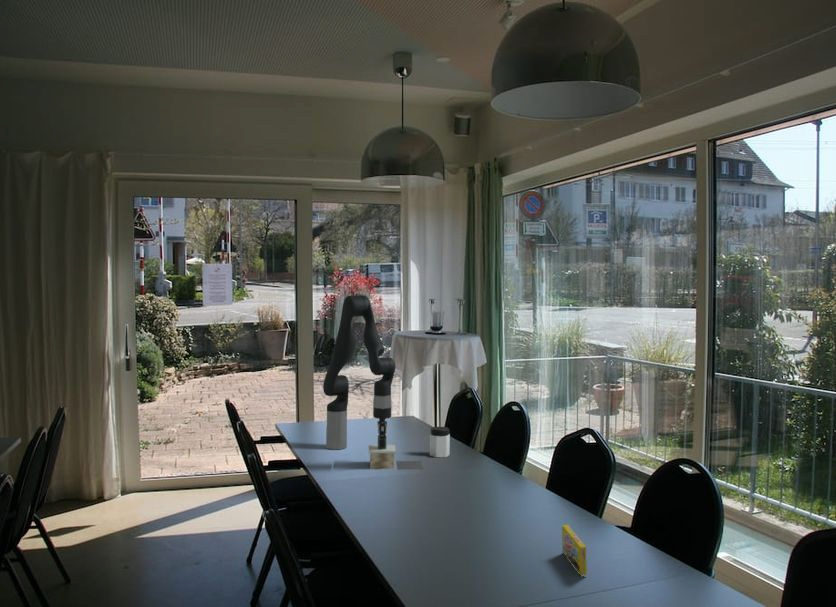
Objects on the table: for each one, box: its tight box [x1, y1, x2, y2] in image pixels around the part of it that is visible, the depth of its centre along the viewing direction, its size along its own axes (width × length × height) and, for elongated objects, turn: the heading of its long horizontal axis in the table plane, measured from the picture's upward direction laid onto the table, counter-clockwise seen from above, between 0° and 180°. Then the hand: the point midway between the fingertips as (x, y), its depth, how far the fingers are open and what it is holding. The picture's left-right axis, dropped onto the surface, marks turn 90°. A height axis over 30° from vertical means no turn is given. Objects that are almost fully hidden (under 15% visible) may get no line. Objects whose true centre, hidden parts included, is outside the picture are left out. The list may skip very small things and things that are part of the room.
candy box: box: [561, 524, 587, 575], centre depth 190 cm, size 16×2×8 cm, turn 5°
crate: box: [369, 453, 395, 470], centre depth 288 cm, size 10×10×7 cm
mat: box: [396, 460, 424, 470], centre depth 289 cm, size 10×13×1 cm
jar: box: [429, 426, 451, 458], centre depth 307 cm, size 9×8×12 cm
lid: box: [368, 434, 397, 454], centre depth 287 cm, size 11×11×7 cm
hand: (382, 447), depth 287 cm, fingers closed on lid, 3 cm apart
